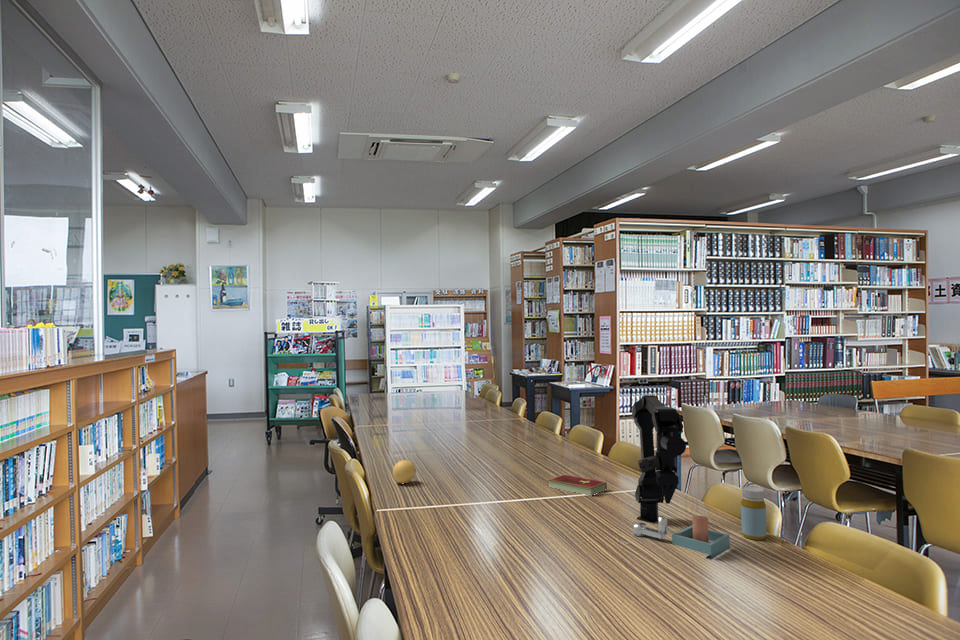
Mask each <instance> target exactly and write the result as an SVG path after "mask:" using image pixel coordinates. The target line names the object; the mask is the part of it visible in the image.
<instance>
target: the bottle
mask: <svg viewBox="0 0 960 640" xmlns="http://www.w3.org/2000/svg"><path fill="white" fill-rule="evenodd" d="M741 491H742V493H741V494H742V496H741V497H742V499H741V501H740V513H741V521H740V522H741V534H742V535H741V536H743V537H744V538H746V539H748V540H752V541H763V540H765V538H767V507H766V502H765V491H764V488H762V487H757V486H747V485H746V486H743V487H741Z"/></svg>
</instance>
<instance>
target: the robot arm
mask: <svg viewBox="0 0 960 640" xmlns="http://www.w3.org/2000/svg"><path fill="white" fill-rule="evenodd" d="M631 416H632V418H633V423H634V425H635V426H636V428H637V429H638V430H639V441H640V456H641V459H638V460H637V464H638V467H639V469H640V472H641V474H640V475H639V478H638V481H637V483H638V485H637V486H636V490H635V492H634V496H635V497H634V498H635V501H636V502H637V503H638V504H640V505H639V506H640V507H639V511H640V513H639V514H640V515H639V516H637V517H636V520H640V521H643V522H647V523H651V524H654V523H658V516H659V504H664V501H665V504H668V505H669V504H670V503H671V501H672V499H673V496H674V494H675V492H676V489H677V488H678V485H679V483H680V481H679V479H680V478H679V474H678V473H677V470H678V469H677V468H678V467H677V457H679V456H681V455H683V454H684V453H685V452H686V450H687V443H686V441H685V440H684V439H683V438H682V437H681V436H680V433H684V430H683V429H684V424H683V420H682V419H681V416H680V413H679V411H677V409H676V408H675V407H672V406H666V405H665V404H663V402H662V401H661V400H660V399H659V397H658V395H656V394H655V395H654V394H652V395H650V394H645V395H641V398H640V399H639V400H637V401H636V402H634V403H633V406H632V408H631ZM654 430H655V432H656V433H655V434H656V451H655V439H654Z"/></svg>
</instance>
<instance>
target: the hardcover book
mask: <svg viewBox="0 0 960 640" xmlns="http://www.w3.org/2000/svg"><path fill="white" fill-rule="evenodd" d="M547 481H548V486H549V487H552V488H557V489H562V490H566V491H565V492H567V491H571V492H570V493H572V492H576V493H575V494H577V493H581V494H580V495H582V494H585V495H584V496H587V495H591V496H590V497H593V496H592V495H594V494H596V493H599V492H601V491H603V490H605V489H606V490H607V491H608V485H607V482H606V481H602V480H595V479H590V478H585V477H579V476H575V475H568V474H560V475H558V476H555V477H552V478H549V479H547ZM552 488H551V489H552ZM557 489H556V490H557ZM562 490H561V491H562ZM603 492H604V491H603ZM601 493H602V492H601ZM599 494H600V493H599ZM596 495H597V494H596ZM594 496H595V495H594Z"/></svg>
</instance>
